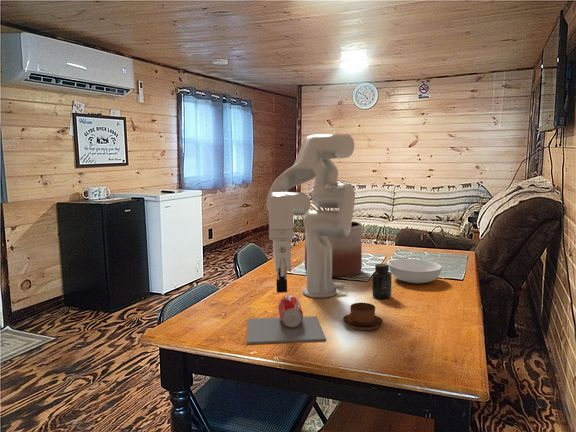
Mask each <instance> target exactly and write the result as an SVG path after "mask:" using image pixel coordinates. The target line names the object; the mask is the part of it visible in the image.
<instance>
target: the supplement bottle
mask: <svg viewBox="0 0 576 432" xmlns="http://www.w3.org/2000/svg"><path fill="white" fill-rule="evenodd" d="M374 268H375V269H374V270H375V271H374V272H373V273H372V297H373V298H375V299H377V300H389V299H391V298H392V276H393V275H392V273H391V271H390V267H389V264H387V263H377V264H375V267H374Z"/></svg>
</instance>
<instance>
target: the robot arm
mask: <svg viewBox="0 0 576 432" xmlns="http://www.w3.org/2000/svg"><path fill="white" fill-rule="evenodd" d="M354 150H355V140H354V138H353V137H352V135H350V134H348V133H347V134H343V133H342V134H339V133H329V134H327V133H326V134H311V135H308V136H306V137H305V138H304V140H303V141H302V144H301V146H300V149H299V152H298V153H297V156H296V158H295V160H294V164H293V165H292V166H291V167H289V168H287V169H286V170H284V171H283V172H282V173H281V174H280V175H279V176H277V177H276V178H275V179H274V180H273V183H272V184H271V186H270V189H269V191H268V193H267V197H266V200H265V202H266V203H265V206H266V209H267V210H268V238H269V240H270V241H272V246H273V247H272V251H273V254H272V255H273V262H274V263H273V264H274V265H273V266H274V269H275V270H274V271H275V272H276V293H278V294H279V293H287V292H288V279H287V271H288V273H291V272H292V271H293V270H292V248H291V246H292V245H291V244H292V243H291V241H292V240H294V216H300V217H301V216H304V215H305V216H304V217H303V226H304V227H303V228H304V233H305V232H306V240H307V271H306V287H304V288H303V289H302V293H303V295H304V296H306V297H310V298H317V299H319V298H320V299H322V298H323V299H327V298H331V297H334V296H335V295H336V294H337V289H341V290H342V289H345V288H346V287H345V285H346V284H345V283H344V282H343V283H341V282H340V281H339V282H334V281H333V278H332V246H331V243H330V241H329V240H328V238H327V237H328V236H329V237H346V236H348V234H349V233H350V230H351V225H352V221H353V217H354V209H355V203H356V202H355V198H356V193H355V188H354V187H353V185H351V184H349V183H347V182H338V178H339V169H338V168H337V166H336V165H335V163H334V162H333V160H332V159H335V160H336V159H346V158H347V159H348V158H350V157H351V156H352V155H353V154H354V152H355V151H354ZM312 180H314V182H313V183H314V185H313V191H312V199H310V197H309V195H308V194H306V193H304V192H303V191H302V192H299V191H289V190H291V189H292V188H294V187H296V186H299V185H302V184H304V183H306V182H307V183H308V182H310V181H312ZM311 200H312V204H313V205H314V206H316V207H318V208H321V209H314V210H310V208H311ZM323 208H324V209H326V210H324V209H323ZM322 209H323V210H322ZM327 209H338V210H327Z"/></svg>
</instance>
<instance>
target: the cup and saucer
mask: <svg viewBox="0 0 576 432" xmlns="http://www.w3.org/2000/svg"><path fill="white" fill-rule="evenodd" d="M383 321H384V320H383V319H382V317H379V316H377V315H376V306H375V305H374V304H372V303H367V302H355V303H352V304H350V313H349V314H346V315H344V316H343V318H342V322H343V323H344V325H345V326H346V327H349V328H351V329H354V330H359V331H370V330H375V329H379V327H381V326H382V325H383Z"/></svg>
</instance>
